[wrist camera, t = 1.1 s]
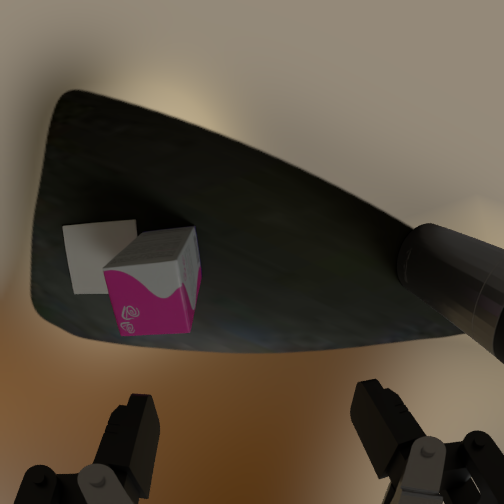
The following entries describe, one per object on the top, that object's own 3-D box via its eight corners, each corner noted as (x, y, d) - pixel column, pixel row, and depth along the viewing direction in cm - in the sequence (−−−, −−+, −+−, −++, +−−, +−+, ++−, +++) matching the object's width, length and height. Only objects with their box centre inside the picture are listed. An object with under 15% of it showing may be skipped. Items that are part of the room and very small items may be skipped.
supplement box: (140, 231, 30) (99, 265, 19) (195, 224, 30) (182, 256, 19) (149, 283, 31) (119, 338, 20) (203, 278, 32) (195, 334, 21)
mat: (135, 219, 29) (135, 219, 29) (144, 291, 31) (144, 292, 31) (63, 225, 28) (62, 226, 28) (75, 292, 31) (74, 293, 30)
